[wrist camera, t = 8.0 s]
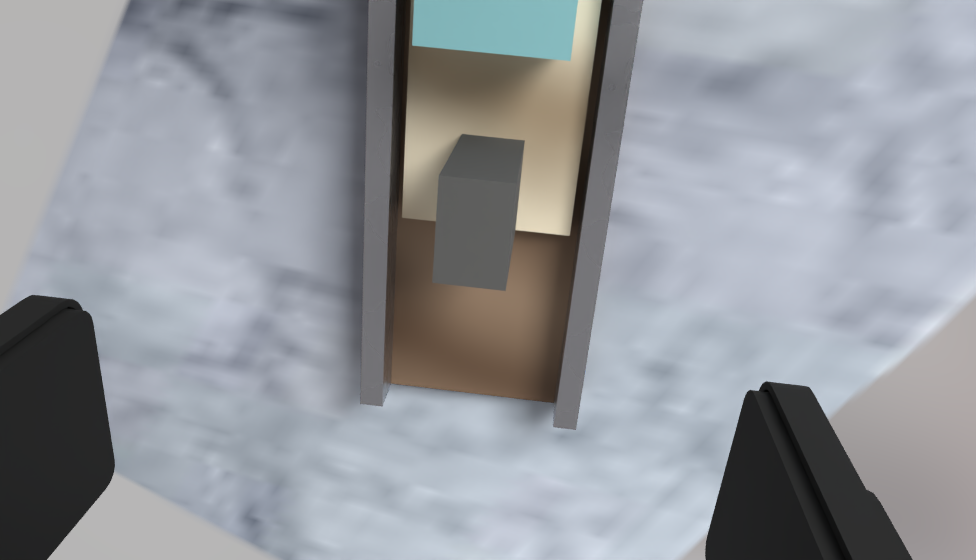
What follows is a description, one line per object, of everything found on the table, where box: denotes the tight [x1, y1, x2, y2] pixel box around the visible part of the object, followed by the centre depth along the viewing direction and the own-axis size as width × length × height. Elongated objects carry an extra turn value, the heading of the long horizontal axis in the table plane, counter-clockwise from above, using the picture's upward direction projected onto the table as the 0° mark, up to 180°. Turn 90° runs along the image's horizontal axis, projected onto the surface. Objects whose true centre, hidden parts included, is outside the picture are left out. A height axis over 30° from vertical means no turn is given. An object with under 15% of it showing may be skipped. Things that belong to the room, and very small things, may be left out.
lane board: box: [360, 0, 643, 430], centre depth 25 cm, size 18×8×2 cm, turn 175°
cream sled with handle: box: [402, 0, 602, 291], centre depth 21 cm, size 10×6×6 cm, turn 175°
